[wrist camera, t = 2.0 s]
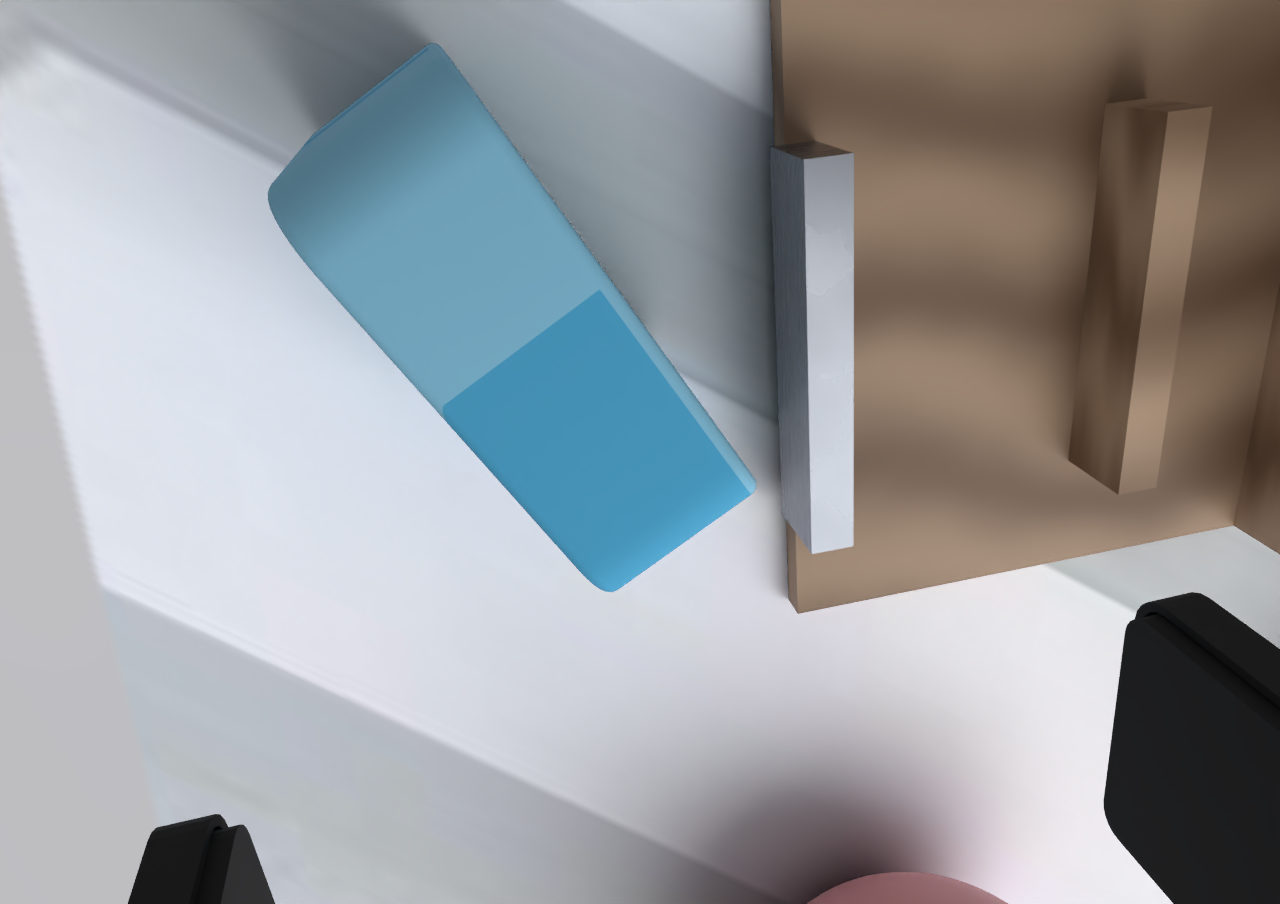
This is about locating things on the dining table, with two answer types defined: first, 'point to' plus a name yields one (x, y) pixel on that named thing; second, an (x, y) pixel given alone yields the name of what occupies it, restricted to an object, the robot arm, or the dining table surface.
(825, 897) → the balloon
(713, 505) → the data package
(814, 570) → the shelf
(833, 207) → the grey rectangular bar
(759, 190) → the dining table surface
